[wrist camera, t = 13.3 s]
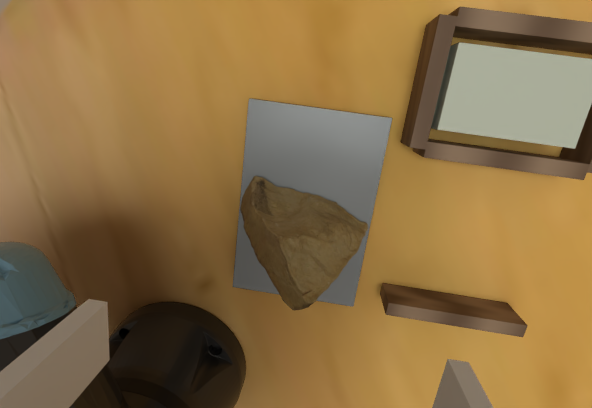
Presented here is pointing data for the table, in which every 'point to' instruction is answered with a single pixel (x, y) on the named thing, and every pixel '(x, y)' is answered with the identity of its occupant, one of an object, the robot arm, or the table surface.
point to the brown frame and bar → (416, 131)
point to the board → (312, 175)
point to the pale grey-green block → (514, 95)
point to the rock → (299, 239)
